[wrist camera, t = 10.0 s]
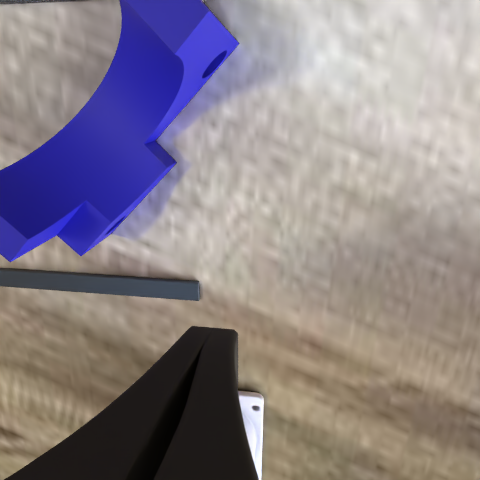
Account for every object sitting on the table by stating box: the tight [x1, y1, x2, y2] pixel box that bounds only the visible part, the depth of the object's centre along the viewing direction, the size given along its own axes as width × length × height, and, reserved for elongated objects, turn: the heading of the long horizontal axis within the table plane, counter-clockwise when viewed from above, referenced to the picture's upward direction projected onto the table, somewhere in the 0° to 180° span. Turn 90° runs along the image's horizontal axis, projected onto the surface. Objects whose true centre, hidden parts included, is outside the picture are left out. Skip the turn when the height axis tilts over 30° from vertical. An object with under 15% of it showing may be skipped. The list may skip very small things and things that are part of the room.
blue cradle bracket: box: [0, 0, 239, 262], centre depth 14 cm, size 12×4×6 cm, turn 134°
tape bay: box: [0, 0, 200, 301], centre depth 18 cm, size 16×17×1 cm
